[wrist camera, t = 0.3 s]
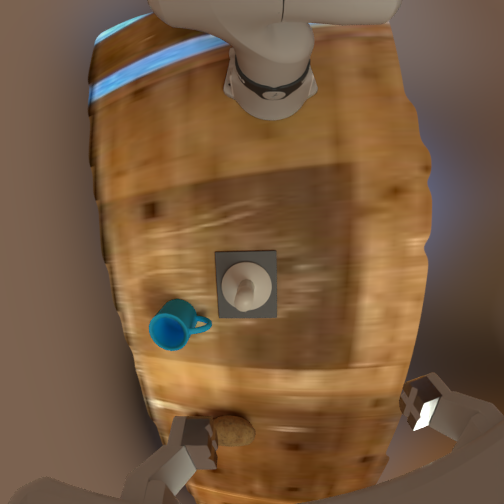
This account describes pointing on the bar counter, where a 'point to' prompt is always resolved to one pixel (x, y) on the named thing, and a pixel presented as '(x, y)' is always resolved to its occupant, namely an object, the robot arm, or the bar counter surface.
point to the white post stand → (246, 286)
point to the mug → (176, 325)
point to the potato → (233, 431)
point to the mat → (258, 257)
